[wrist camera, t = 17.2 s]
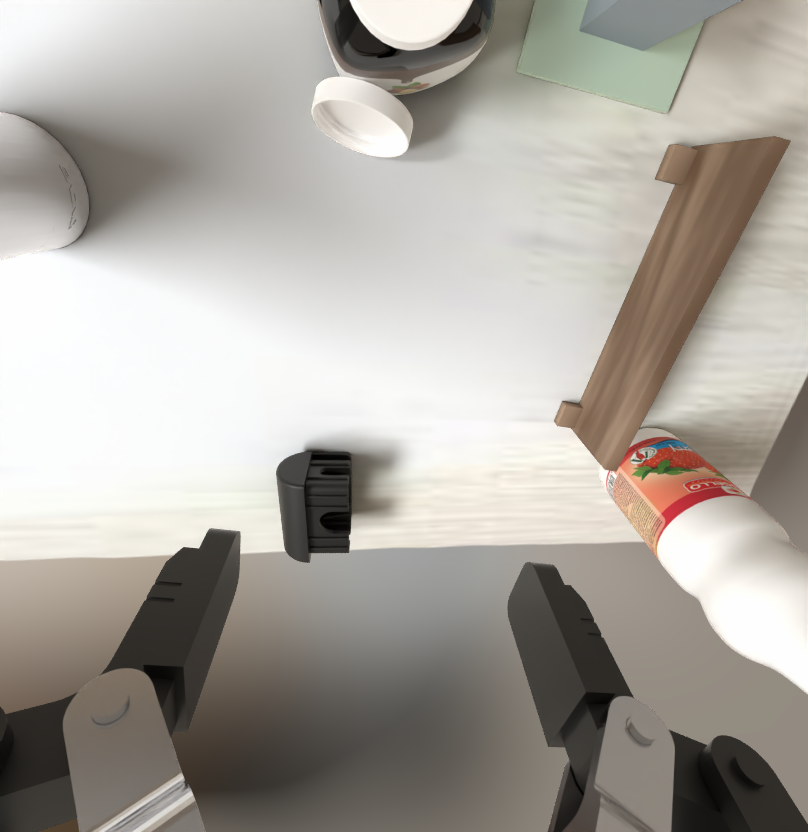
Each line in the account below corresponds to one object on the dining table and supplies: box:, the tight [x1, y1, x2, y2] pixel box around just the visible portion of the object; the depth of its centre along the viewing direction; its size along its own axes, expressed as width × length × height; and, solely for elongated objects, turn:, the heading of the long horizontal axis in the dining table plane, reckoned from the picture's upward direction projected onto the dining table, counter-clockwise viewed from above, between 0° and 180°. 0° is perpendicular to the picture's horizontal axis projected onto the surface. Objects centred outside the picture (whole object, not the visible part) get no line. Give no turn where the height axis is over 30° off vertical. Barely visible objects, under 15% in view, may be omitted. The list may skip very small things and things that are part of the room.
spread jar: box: [311, 0, 496, 158], centre depth 25 cm, size 12×11×12 cm
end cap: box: [276, 451, 352, 563], centre depth 45 cm, size 10×7×7 cm
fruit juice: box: [599, 428, 808, 694], centre depth 36 cm, size 9×9×28 cm
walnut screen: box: [554, 136, 790, 471], centre depth 36 cm, size 5×26×8 cm, turn 169°
